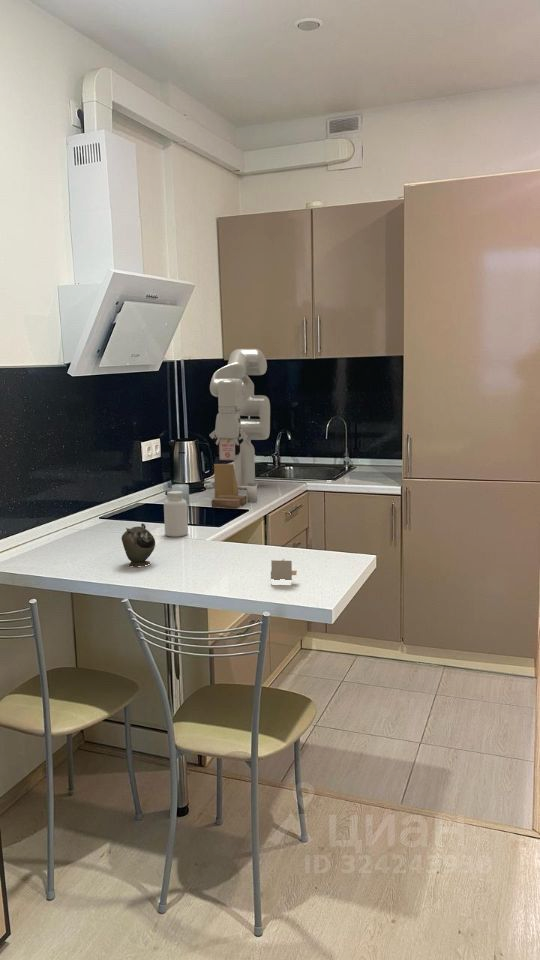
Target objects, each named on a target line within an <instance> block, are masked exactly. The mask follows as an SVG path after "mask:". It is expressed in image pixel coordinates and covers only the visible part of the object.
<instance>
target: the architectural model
mask: <svg viewBox="0 0 540 960" xmlns="http://www.w3.org/2000/svg"><path fill="white" fill-rule="evenodd" d="M292 564H293V561H292V560H285V558H282V560H278V559H277V560H271V564H270V565H271V570H270V580H271V579H274V580H280V579H285V580H292V581H293V576H297V573H298V570H292V569H293V566H292Z"/></svg>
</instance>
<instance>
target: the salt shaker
mask: <svg viewBox="0 0 540 960" xmlns="http://www.w3.org/2000/svg"><path fill="white" fill-rule="evenodd" d="M256 483H257V482H256V480H255V481H249V482H248V484H247V489H246V490H247V493H246V496H247V502H248V503H250V502H251V504H252V503H257V502H258V487H257V484H256Z"/></svg>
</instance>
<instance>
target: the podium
mask: <svg viewBox="0 0 540 960" xmlns="http://www.w3.org/2000/svg"><path fill="white" fill-rule="evenodd" d="M247 502H248V500H247V495H243V494H242V495H241V494H240V495H239V494H237V495H223V494H222V495H220V496H218V497H216V498H215V497H214V498H213V499H211V508H222V509H223V508H224V509H236V508H237V509H239V508H240V506H241V507H242V506H244V505H245V504H247Z"/></svg>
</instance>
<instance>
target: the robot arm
mask: <svg viewBox="0 0 540 960" xmlns="http://www.w3.org/2000/svg"><path fill="white" fill-rule="evenodd" d="M267 363H268V362H267V359H266V357H265V355H264V353H263V352H262V351H261V350H260V349H259V348H237V349H235V350H233V351H232V352H231V353H230V355H229V359H228V361H227V365H225V366H222V367H221V368H219V369H217V370H216V371H215V372H214V373H213V375H212V377H211V379H210V380H211V381H210V384H209V391H210V394H211V395H212V396H213V397H216V398H217V399H218V400H217V401H218V403H217V404H218V413H217V414H216V417H215V418H216V419H215V428H214V430H213V431H212V432H211V433H209V437H210V438H211V439H212V441H213V442H214V443H215V444H216V452H217V455H219V442H220V440H221V439H234V441H235V443H236V445H235V455H238V459H237V460H235V461H234V460H233V465H234V472H235V477H236V482H237V487H238V490H239V489H242V490H244V489H245V490H247V484H248V482H249V481H255V482H256V474H255V473H256V469H255V466H256V465H255V464H256V459H255V453H256V451H255V447H254V445H253V444H252V442H250V441H251V440H252V441H254V440H255V441H258V440H259V441H261V440H267V439H269V437H270V434H271V433H270V431H271V403H270V399H269V398H268V396H266V395H261V394H259V395H255V384H254V382H253V381H252V379H251V378H250V377H249V376H262V375H264V374H266V372H267V368H268V364H267ZM241 417H259V418H241ZM256 484H257V488H259V483H257V482H256Z"/></svg>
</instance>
